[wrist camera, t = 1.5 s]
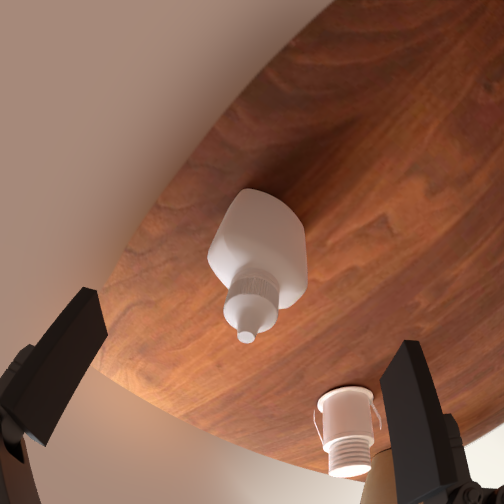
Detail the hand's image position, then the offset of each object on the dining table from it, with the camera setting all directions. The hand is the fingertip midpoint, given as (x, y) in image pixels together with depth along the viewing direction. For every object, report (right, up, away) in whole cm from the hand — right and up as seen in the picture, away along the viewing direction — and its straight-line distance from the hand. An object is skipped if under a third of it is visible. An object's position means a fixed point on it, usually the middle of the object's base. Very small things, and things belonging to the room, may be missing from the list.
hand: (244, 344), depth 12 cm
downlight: (+12, -14, +21) cm, 28 cm away
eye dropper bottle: (+1, +6, +11) cm, 12 cm away
